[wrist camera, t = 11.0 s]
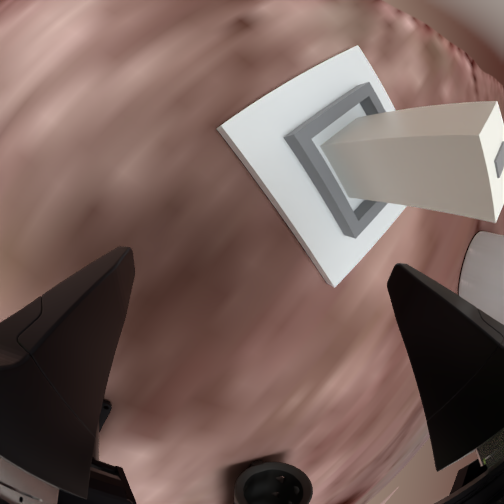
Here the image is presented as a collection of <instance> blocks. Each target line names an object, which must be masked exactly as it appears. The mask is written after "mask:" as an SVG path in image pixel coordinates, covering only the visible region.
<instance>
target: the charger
mask: <svg viewBox="0 0 504 504" xmlns="http://www.w3.org/2000/svg"><path fill="white" fill-rule="evenodd" d="M320 147H321V149H322V150H323V152H324V154H325V155H326V157H327V159H328V161H329V162H330V164H331V166H332V168H333V169H334V171H335V173H336V175H337V177H338V178H339V180H340V182H341V184H342V186H343V188H344V189H345V191H346V193H347V195H348V197H349V198H356V199H364V200H371V201H378V202H385V203H392V204H399V205H405V206H411V207H417V208H423V209H429V210H435V211H440V212H445V213H451V214H456V215H461V216H466V217H470V218H475V219H480V220H484V221H489V222H493V223H496V221H497V219H498V216H499V214H500V212H501V209H502V207H503V204H504V124H503V120H502V116H501V113H500V109H499V106H498V102H497V101H485V102H466V103H453V104H443V105H433V106H425V107H417V108H409V109H403V110H396V111H390V112H384V113H378V114H373V115H368V116H362V117H357V118H356V119H354V120H353V121H352V122H350V123H349V124H348V125H346V126H345V127H344V128H342V129H341V130H340V131H339V132H337V133H336V134H335V135H333V136H332V137H331V138H329V139H328V140H327V141H326V142H324V143H323V144H322V145H320Z"/></svg>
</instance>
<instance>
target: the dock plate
mask: <svg viewBox="0 0 504 504" xmlns="http://www.w3.org/2000/svg"><path fill="white" fill-rule="evenodd" d="M390 111H396V110H395V108H394V106H393V104H392V102H391V100H390V98H389V97H388V95H387V93H386V91H385V89H384V87H383V86H382V84H381V82H380V80H379V79H378V77H377V75H376V73H375V72H374V70H373V68H372V67H371V65H370V63H369V62H368V60H367V59H366V57H365V55H364V54H363V52H362V51H361V49H360V48H359V46H358V45H357V46H355V47H353V48H351V49H349V50H346V51H344V52H342V53H340V54H338V55H336V56H334V57H332V58H330V59H328V60H326V61H324V62H322V63H321V64H319V65H317V66H315V67H313V68H311V69H309V70H308V71H306V72H304V73H302V74H300V75H299V76H297V77H295V78H293V79H292V80H290V81H288V82H287V83H285V84H283V85H282V86H280V87H278V88H277V89H275V90H273V91H272V92H270V93H268V94H267V95H265V96H264V97H262V98H261V99H259V100H257V101H256V102H254V103H253V104H251V105H250V106H248V107H247V108H245V109H244V110H242V111H241V112H239V113H238V114H236V115H235V116H233V117H232V118H231V119H229V120H228V121H226V122H225V123H223V124H222V125H221V126H219V127H218V128H217V130H218V132H219V133H220V134H221V135H222V137H223V138H224V139H225V141H226V142H227V143H228V145H229V146H230V147H231V148H232V150H233V151H234V152H235V154H236V155H237V156H238V158H239V159H240V160H241V162H242V163H243V164H244V166H245V167H246V168H247V170H248V171H249V172H250V174H251V175H252V177H253V178H254V179H255V181H256V182H257V183H258V185H259V186H260V187H261V189H262V190H263V192H264V193H265V194H266V196H267V197H268V199H269V200H270V201H271V203H272V204H273V205H274V207H275V208H276V210H277V211H278V213H279V214H280V215H281V217H282V218H283V220H284V221H285V222H286V224H287V225H288V227H289V228H290V230H291V231H292V232H293V234H294V235H295V237H296V238H297V240H298V241H299V243H300V244H301V246H302V247H303V248H304V250H305V251H306V253H307V254H308V256H309V257H310V259H311V260H312V262H313V263H314V265H315V266H316V268H317V269H318V271H319V272H320V274H321V275H322V277H323V278H324V280H325V281H326V283H327V284H329V285H331V286H333V287H336V286H337V285H338V284H339V283H340V282H341V281H342V279H343V278H344V277H345V276H346V275H347V274H348V273H349V272H350V271H351V270H352V269H353V268H354V267H355V266H356V264H357V263H358V262H359V261H360V260H361V259H362V258H363V257H364V256H365V255H366V253H367V252H368V251H369V250H370V249H371V248H372V247H373V246H374V244H375V243H376V242H377V241H378V240H379V239H380V237H381V236H382V235H383V234H384V233H385V232H386V231H387V229H388V228H389V227H390V226H391V225H392V223H393V222H394V221H395V220H396V219H397V217H398V216H399V215H400V214H401V213H402V211H403V210H404V209H405V208H406V206H405V205H399V204H392V203H385V202H378V201H371V200H364V199H356V198H349V197H348V195H347V193H346V191H345V189H344V188H343V186H342V184H341V182H340V180H339V178H338V177H337V175H336V173H335V171H334V169H333V168H332V166H331V164H330V162H329V161H328V159H327V157H326V155H325V154H324V152H323V150H322V149H321V147H320V145H322V144H323V143H324V142H326V141H327V140H328V139H329V138H331V137H332V136H333V135H335V134H336V133H337V132H339V131H340V130H341V129H342V128H344V127H345V126H346V125H348V124H349V123H350V122H352V121H353V120H354V119H356V118H357V117H362V116H368V115H373V114H378V113H384V112H390Z"/></svg>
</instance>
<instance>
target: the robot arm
mask: <svg viewBox="0 0 504 504" xmlns="http://www.w3.org/2000/svg"><path fill="white" fill-rule="evenodd" d="M134 276H135V267H134V260H133V252H132V249H131V248H130V247H122V246H120V247H117V248H115V249H114V250H112V251H110V252H109V253H107V254H105V255H104V256H102V257H100V258H99V259H97V260H96V261H94V262H92V263H91V264H89V265H87V266H86V267H84V268H83V269H81V270H79V271H78V272H76V273H75V274H73V275H72V276H70V277H69V278H67V279H65V280H64V281H62V282H61V283H59V284H58V285H56V286H55V287H53V288H52V289H50V290H49V291H47V292H46V293H44V294H43V295H42V297H41V296H40V297H38V298H37V299H36V300H34V301H33V302H31V303H30V304H28V305H27V306H25V307H24V308H22V309H21V310H19V311H18V312H16V313H15V314H13V315H12V316H10V317H8V318H7V319H5V320H4V321H2V322H0V504H136V501H135V498H134V496H133V494H132V491H131V489H130V486H129V484H128V481H127V479H126V476H125V473H124V471H123V468H121V467H118V466H112V465H109V464H106V463H104V462H101V461H99V432H100V430H101V428H102V426H103V424H104V422H105V420H106V419H107V417H108V415H109V413H110V411H111V408H112V405H111V403H110V402H108V401H106V400H104V399H103V398H104V394H105V389H106V385H107V381H108V377H109V373H110V370H111V366H112V362H113V358H114V355H115V351H116V348H117V344H118V341H119V337H120V334H121V331H122V328H123V324H124V321H125V318H126V314H127V309H128V304H129V299H130V294H131V289H132V285H133V280H134ZM387 288H388V292H389V295H390V299H391V302H392V306H393V310H394V313H395V317H396V321H397V324H398V327H399V330H400V332H401V335H402V338H403V341H404V344H405V347H406V350H407V353H408V356H409V359H410V362H411V366H412V369H413V372H414V375H415V379H416V382H417V386H418V389H419V393H420V397H421V400H422V404H423V408H424V412H425V416H426V420H427V426H428V430H429V435H430V439H431V444H432V449H433V455H434V460H435V467H436V470H437V471H440V470H442V469H444V468H445V467H447V466H449V465H451V464H453V463H455V462H456V461H458V460H460V459H462V458H463V457H465V456H467V455H469V454H470V453H472V452H473V451H475V452H476V455H477V458H478V459H477V460H475V461H473V462H472V463H470V464H469V465H467V466H465V467H464V468H462V469H460V470H459V471H458V473H457V476H456V480H455V482H454V485H453V487H452V490H451V492H450V495H449V496H447V497H445V498H444V499H442V500H440V501H438V502H436V503H435V504H504V325H503V324H501V323H500V322H498V321H497V320H495V319H494V318H492V317H491V316H489V315H488V314H486V313H484V312H483V311H481V310H480V309H478V308H476V307H475V306H474V305H472V304H471V303H469V302H468V301H466V300H465V299H463V298H462V297H460V296H458V295H457V294H455V293H454V292H452V291H451V290H449V289H447V288H446V287H444V286H442V285H441V284H439V283H438V282H436V281H434V280H433V279H431V278H429V277H428V276H426V275H424V274H423V273H421V272H419V271H418V270H416V269H414V268H413V267H411V266H409V265H407V264H403V263H397V264H396V265H395V266H394V268H393V270H392V273H391V275H390V277H389V279H388V282H387ZM106 406H108V407H106Z"/></svg>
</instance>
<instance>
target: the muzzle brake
mask: <svg viewBox="0 0 504 504" xmlns="http://www.w3.org/2000/svg"><path fill="white" fill-rule="evenodd" d="M280 476H283V477H284V478H283V477H280ZM312 494H313V488H312V484H311V481H310V480H309V478H308V477H307V475H306V474H305V473H304V472H302V471H301V470H300V469H298V468H296V467H294V466H292V465H289V464H286V463H281V462H265V463H263V462H262V461H261V460H260V461H256V462H252V464H251V467H250V468H248V469H246V470H245V471H244V472H242V473H241V474H240V476H239V477H238V478H237V480H236V482H235V487H234V504H309V502H310V500H311V498H312Z"/></svg>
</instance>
